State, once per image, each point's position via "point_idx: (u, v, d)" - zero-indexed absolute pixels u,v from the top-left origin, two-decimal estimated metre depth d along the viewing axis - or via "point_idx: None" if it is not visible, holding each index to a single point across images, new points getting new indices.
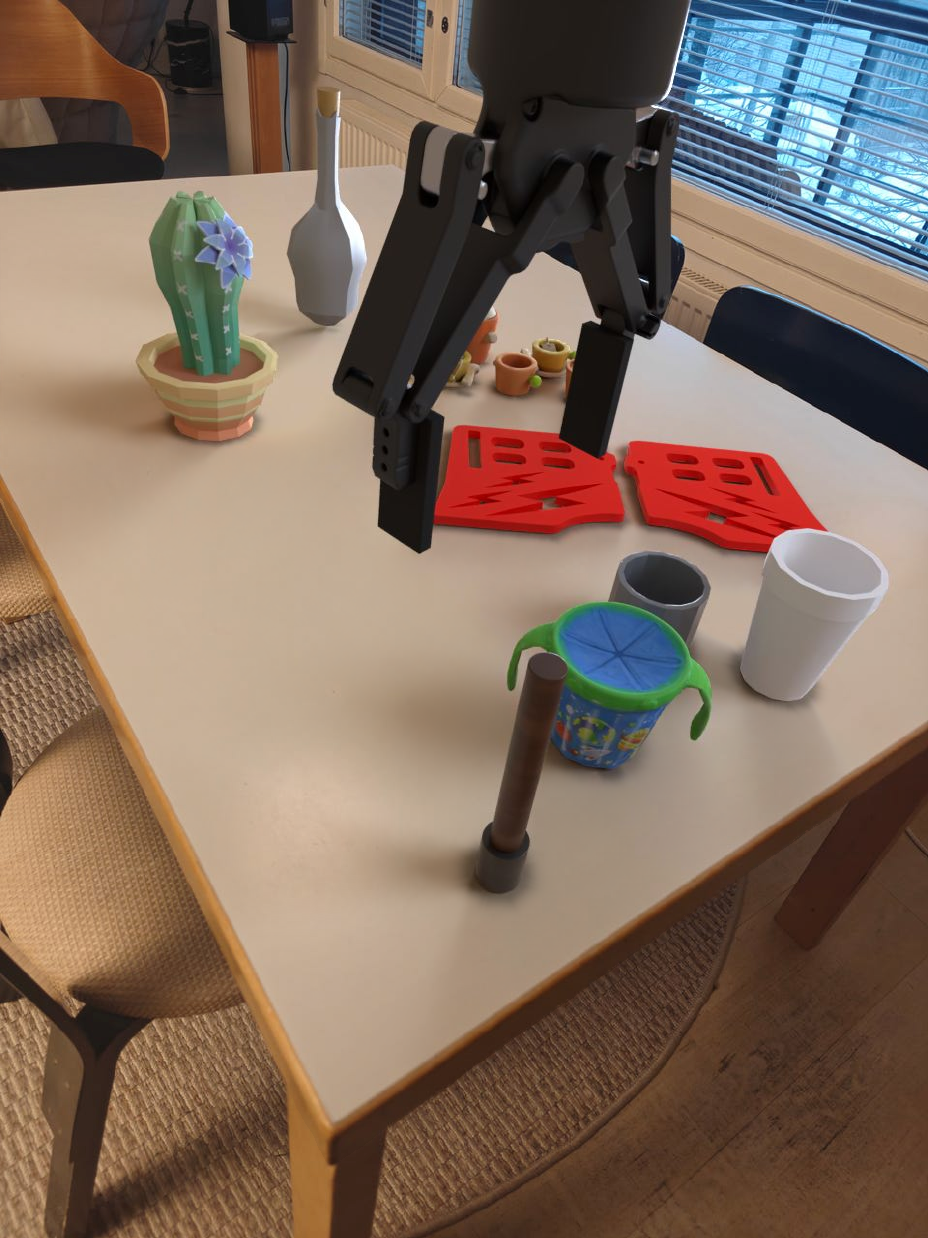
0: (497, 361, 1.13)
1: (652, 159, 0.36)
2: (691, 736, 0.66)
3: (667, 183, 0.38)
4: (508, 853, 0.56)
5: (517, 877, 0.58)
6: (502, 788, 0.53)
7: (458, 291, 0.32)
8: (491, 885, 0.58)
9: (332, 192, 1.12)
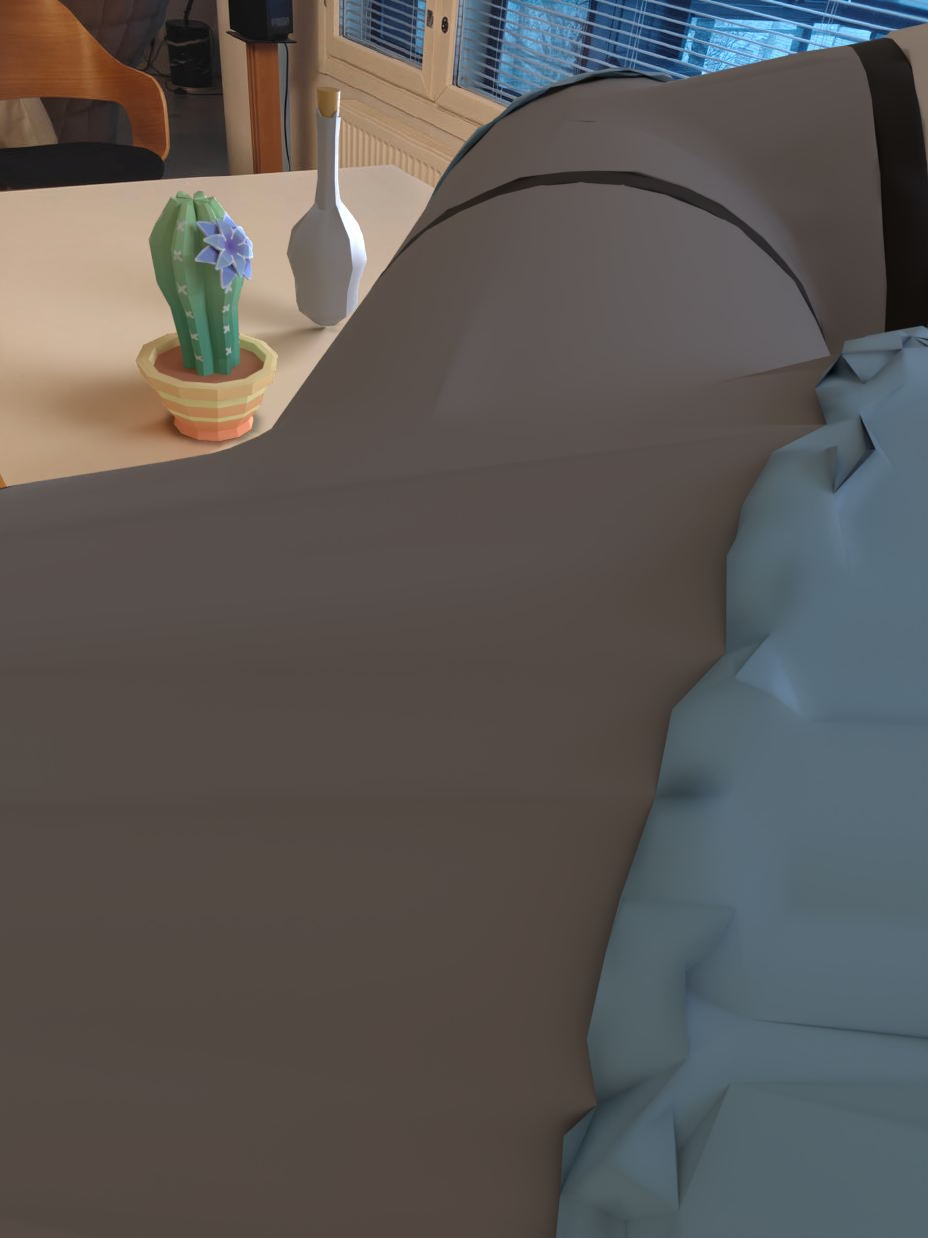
0: None
1: None
2: None
3: None
4: None
5: None
6: None
7: None
8: None
9: (332, 192, 1.12)
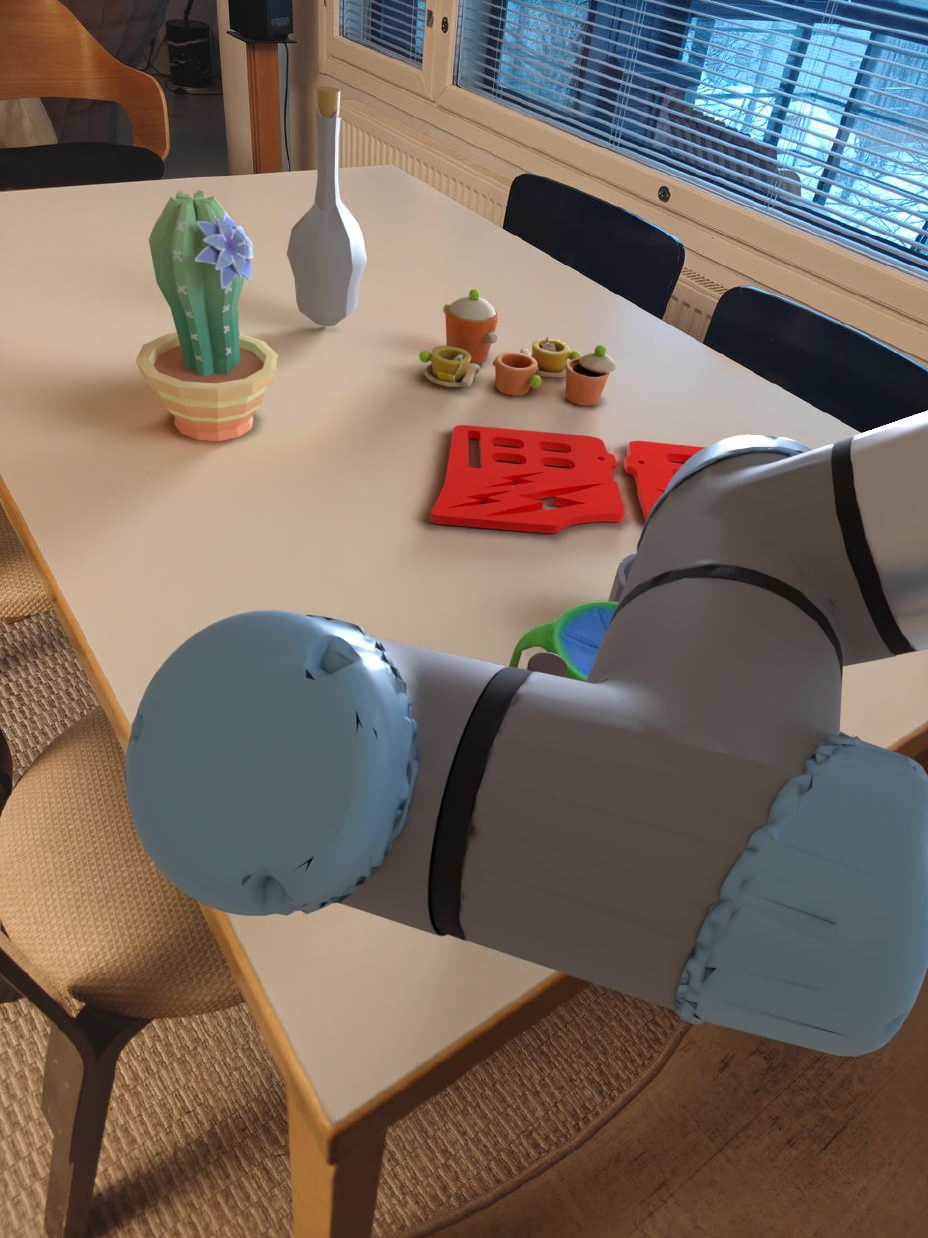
0: (497, 361, 1.13)
1: None
2: None
3: None
4: None
5: None
6: None
7: None
8: None
9: (332, 192, 1.12)
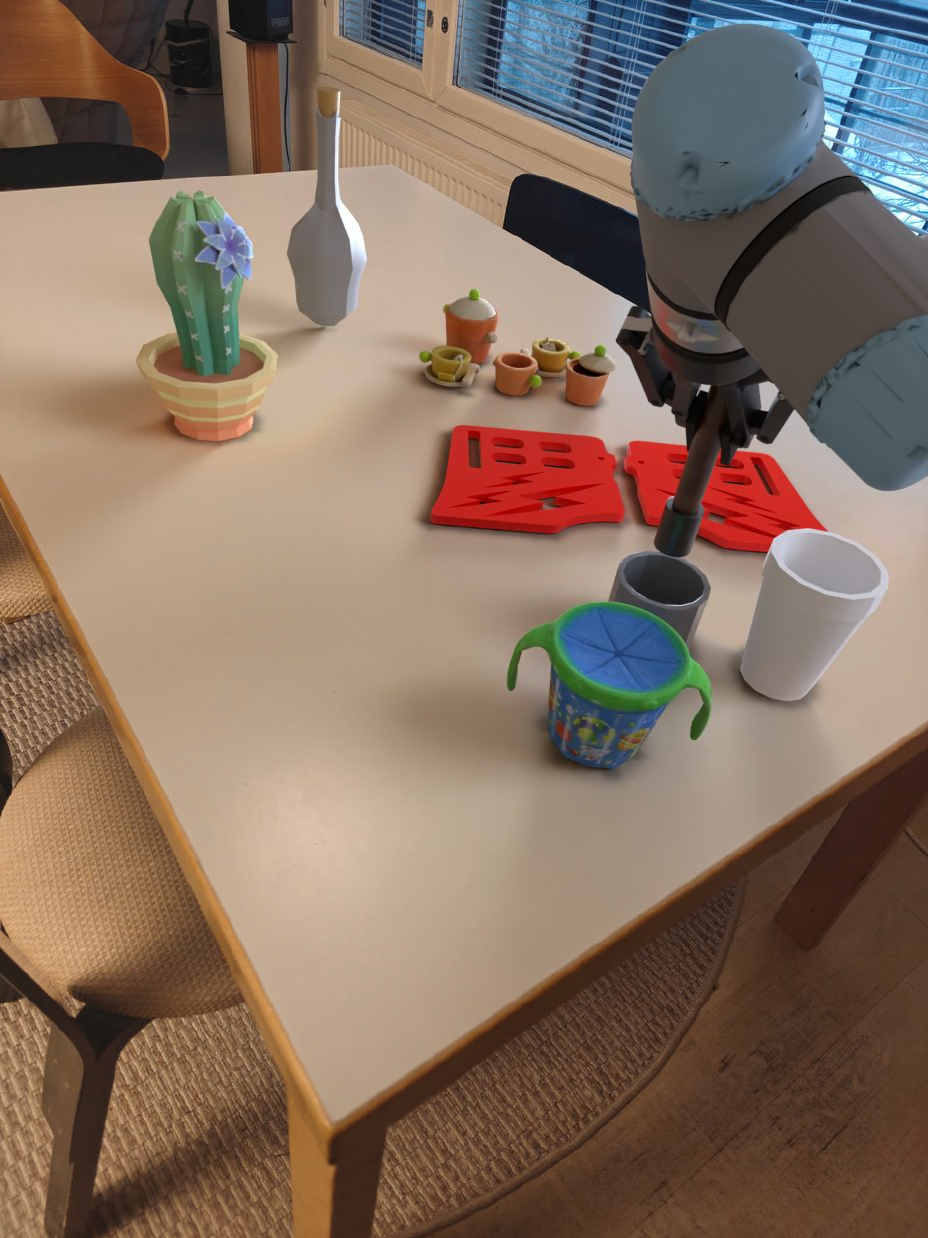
0: (497, 361, 1.13)
1: None
2: (691, 736, 0.66)
3: None
4: (689, 514, 0.69)
5: (692, 542, 0.71)
6: (693, 446, 0.66)
7: (753, 390, 0.58)
8: (671, 548, 0.71)
9: (332, 192, 1.12)
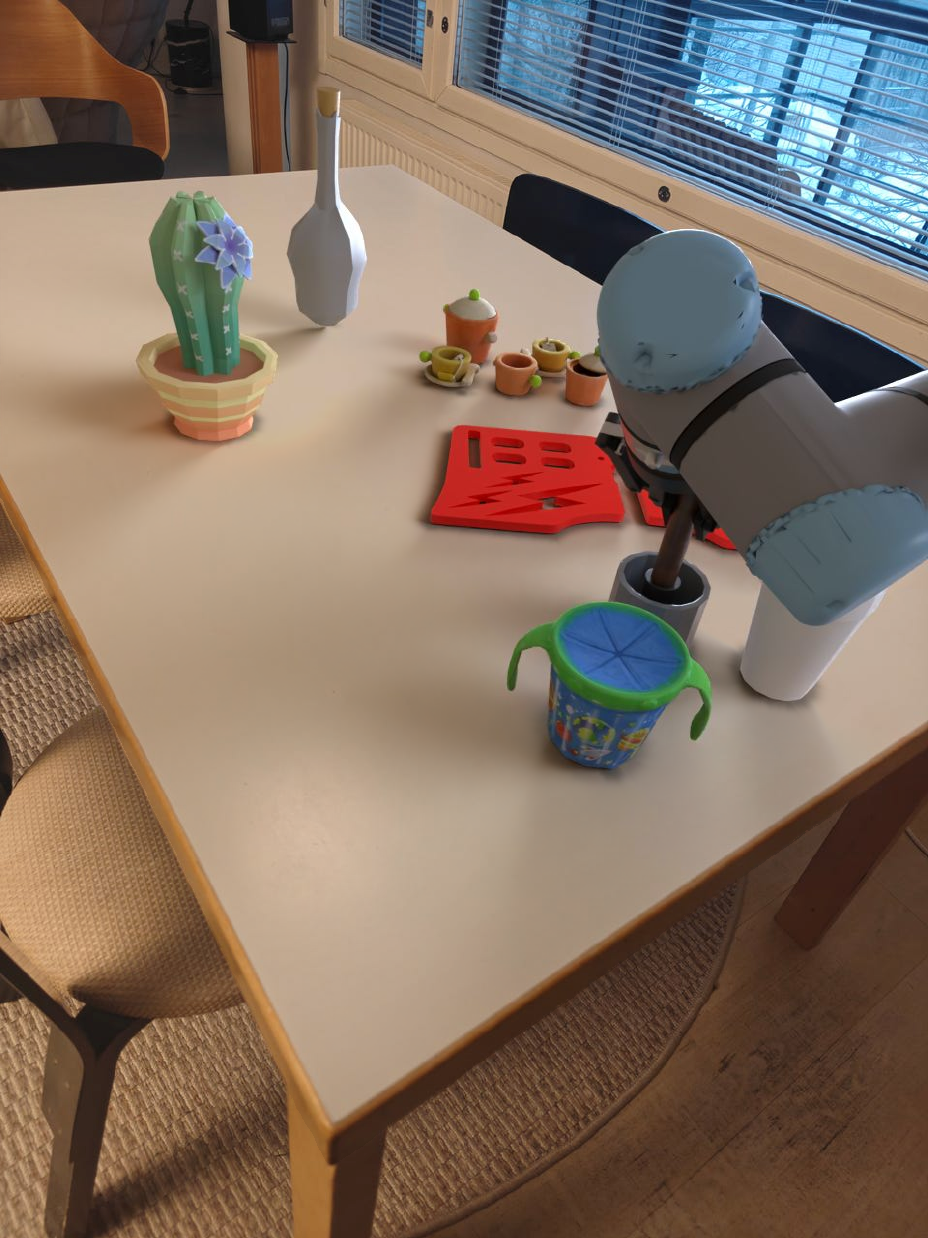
0: (497, 361, 1.13)
1: None
2: (691, 736, 0.66)
3: None
4: (666, 586, 0.75)
5: None
6: (669, 527, 0.72)
7: None
8: None
9: (332, 192, 1.12)
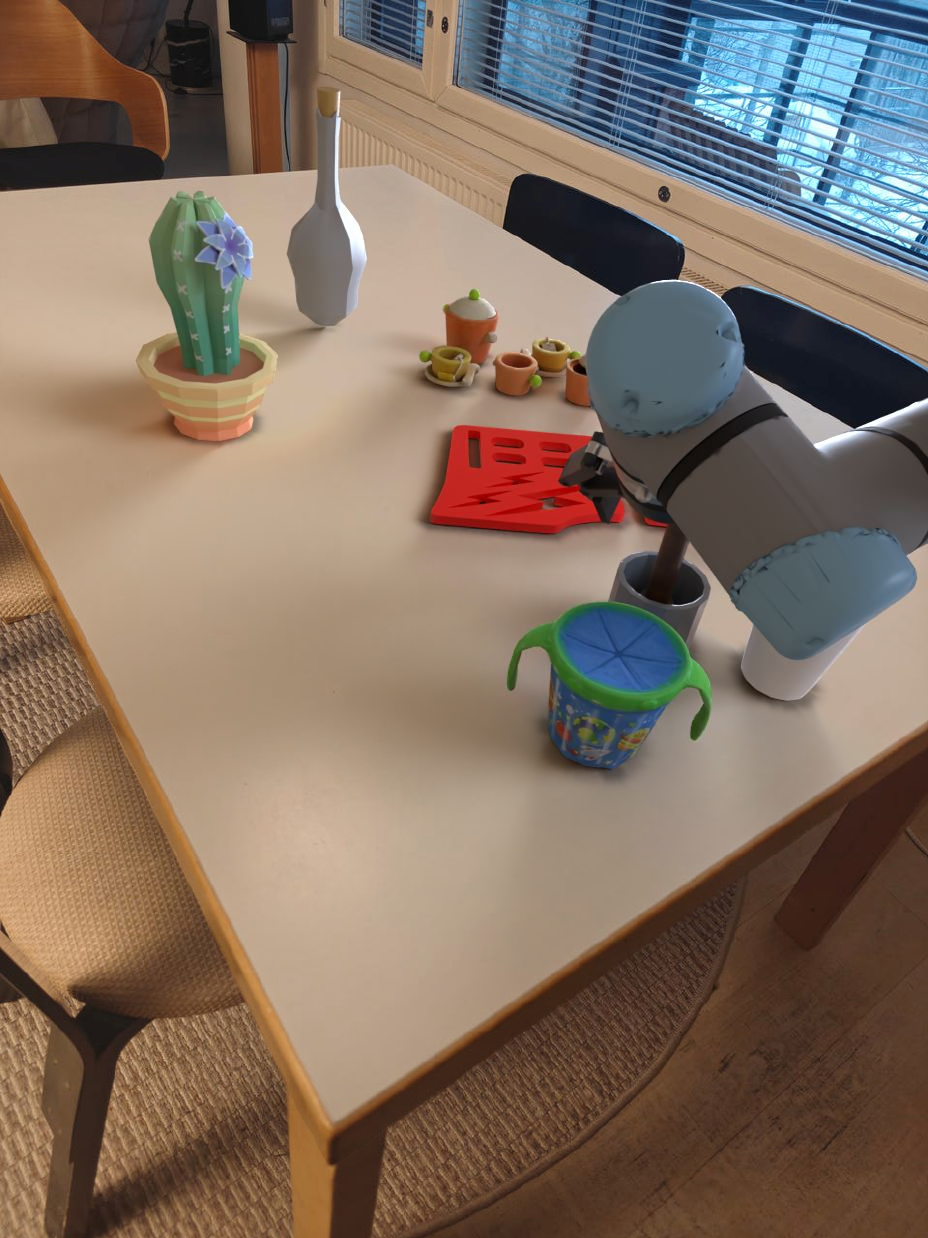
0: (497, 361, 1.13)
1: None
2: (691, 736, 0.66)
3: None
4: None
5: None
6: (661, 549, 0.73)
7: None
8: None
9: (332, 192, 1.12)
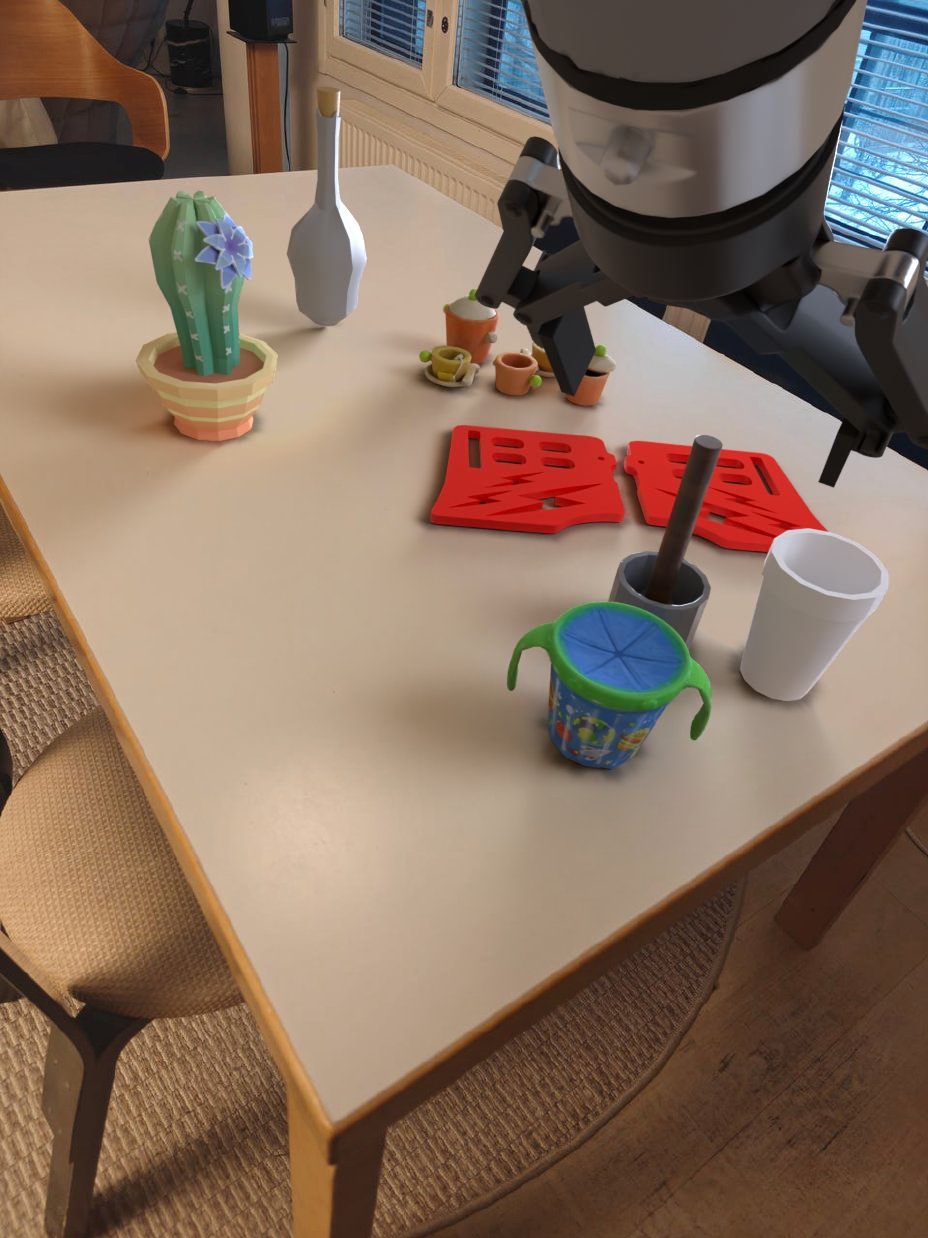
0: (497, 361, 1.13)
1: None
2: (691, 736, 0.66)
3: None
4: None
5: None
6: (661, 549, 0.73)
7: (844, 332, 0.31)
8: None
9: (332, 192, 1.12)
